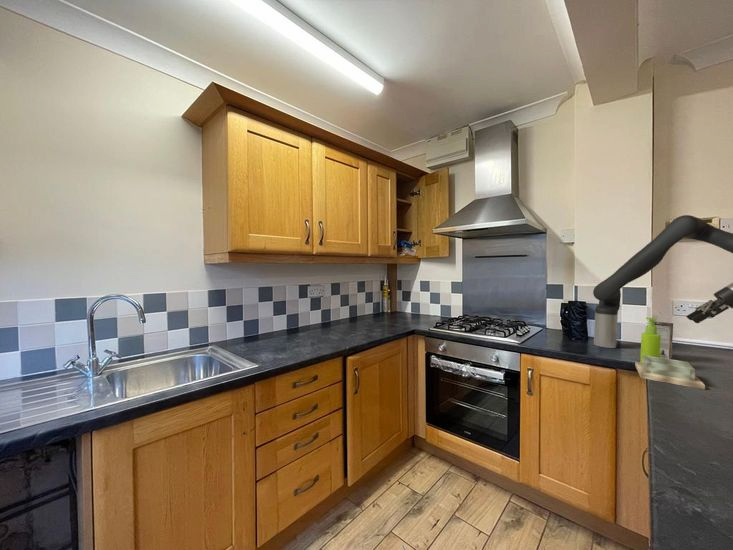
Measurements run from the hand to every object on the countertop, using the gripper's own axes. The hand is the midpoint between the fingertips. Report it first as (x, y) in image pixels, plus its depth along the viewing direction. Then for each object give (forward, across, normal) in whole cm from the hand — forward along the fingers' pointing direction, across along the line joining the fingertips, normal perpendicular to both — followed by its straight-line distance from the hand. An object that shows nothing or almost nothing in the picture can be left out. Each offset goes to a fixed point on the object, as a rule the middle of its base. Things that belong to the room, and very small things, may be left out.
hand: (691, 320), depth 118 cm
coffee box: (+19, -18, +11) cm, 28 cm away
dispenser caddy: (+21, +15, +8) cm, 27 cm away
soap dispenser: (+23, 0, +6) cm, 24 cm away
